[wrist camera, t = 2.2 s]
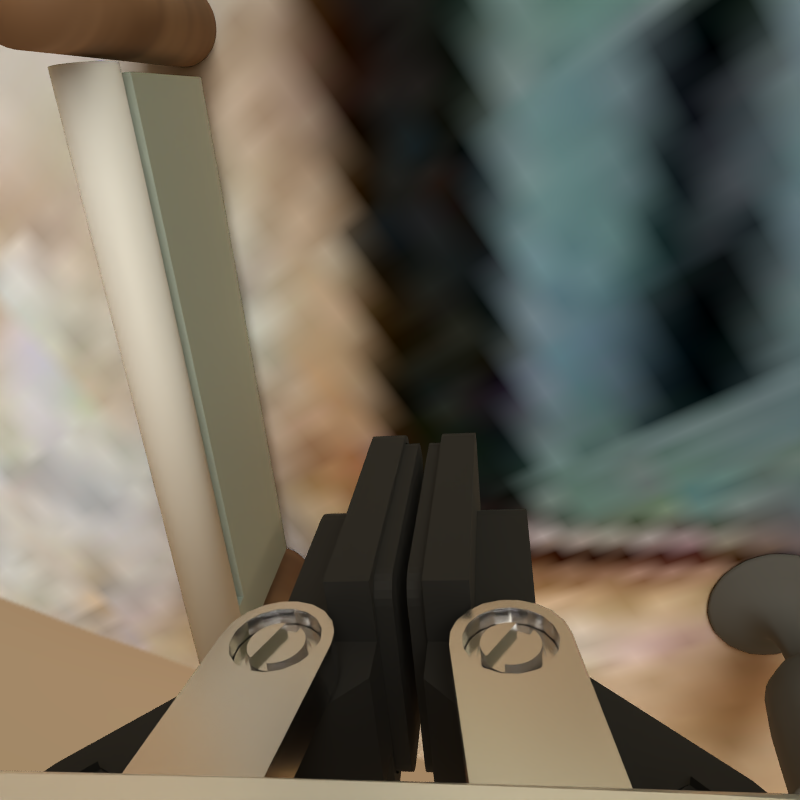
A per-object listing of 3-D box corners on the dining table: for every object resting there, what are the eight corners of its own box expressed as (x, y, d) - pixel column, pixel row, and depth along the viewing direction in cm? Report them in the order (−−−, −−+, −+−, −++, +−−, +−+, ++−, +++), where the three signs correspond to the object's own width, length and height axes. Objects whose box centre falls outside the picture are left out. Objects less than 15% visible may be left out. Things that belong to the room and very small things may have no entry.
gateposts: (134, -13, 23) (-63, -78, 14) (207, -23, 22) (51, -94, 14) (259, 594, 31) (182, 772, 23) (313, 593, 31) (254, 773, 23)
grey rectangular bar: (151, 75, 23) (33, 66, 17) (201, 69, 22) (99, 59, 16) (250, 553, 29) (192, 672, 23) (288, 552, 29) (239, 672, 23)
